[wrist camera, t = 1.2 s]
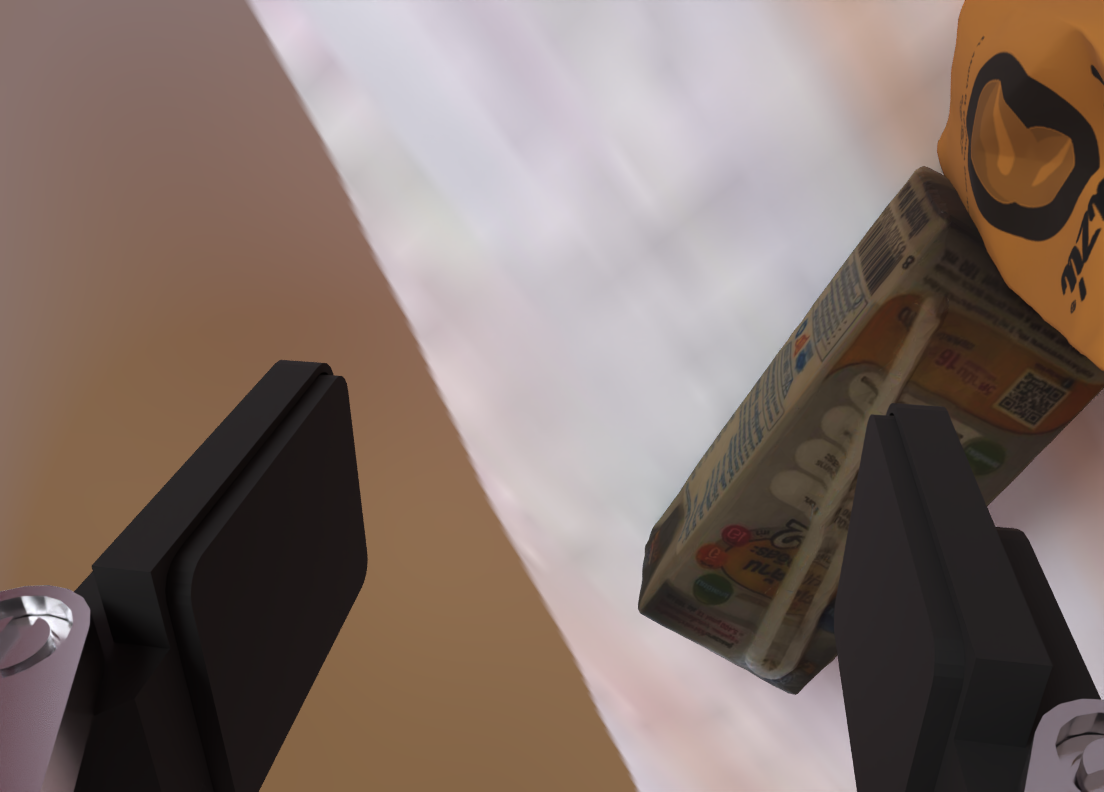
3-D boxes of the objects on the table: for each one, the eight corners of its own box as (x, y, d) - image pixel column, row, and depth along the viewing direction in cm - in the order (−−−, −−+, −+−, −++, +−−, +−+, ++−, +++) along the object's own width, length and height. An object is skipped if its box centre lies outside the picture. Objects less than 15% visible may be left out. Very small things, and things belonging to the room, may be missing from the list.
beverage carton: (637, 525, 43) (623, 627, 37) (914, 147, 33) (953, 203, 28) (791, 607, 43) (801, 718, 38) (1103, 258, 34) (1180, 336, 28)
